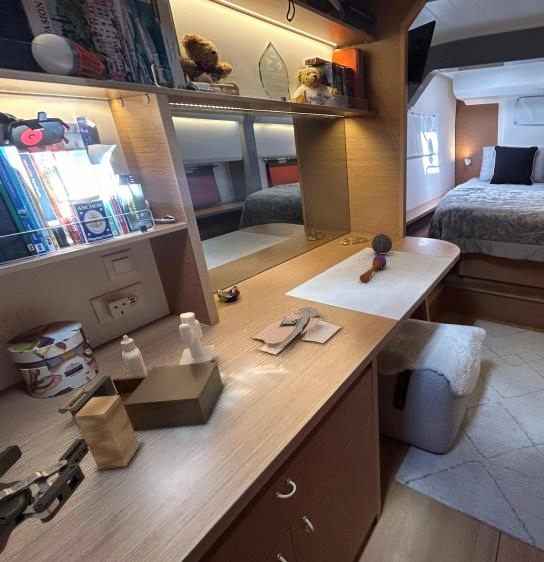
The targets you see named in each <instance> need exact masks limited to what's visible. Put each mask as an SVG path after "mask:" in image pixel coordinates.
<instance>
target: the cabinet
mask: <svg viewBox="0 0 544 562" xmlns="http://www.w3.org/2000/svg"><path fill="white" fill-rule="evenodd" d="M222 389H223V382H222V377H221V373H220V369H219V365H218V362H217V361H216V362H215V361H214V362H211V363H201V364H188V365H178V364H177V365H165V366H154V367H153V366H152V369H150V371H149V372H148V375H147V376H146V377H145V379H144V380H143V381H142V382H141V384H140V385H139V386H138V387H137V389H136V390H135V391H134V392H133V394H132V395H131V396H130V397H129V399H128V400H127V401H126V402H125V404H124V406H125V409H126V412H127V414H128V417H129V420H130V423H131V425H132V428H133V430H134V431H142V430H150V429H164V428H174V427H175V428H176V427H184V426H186V427H187V426H194V425H195V426H196V425H205V424H206V423H207V421H208V419H209V416H210V414H211V412H212V409H213V407H214V405H215V403H216V401H217V398H218V396H219V395H220V393H221V390H222Z"/></svg>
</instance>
